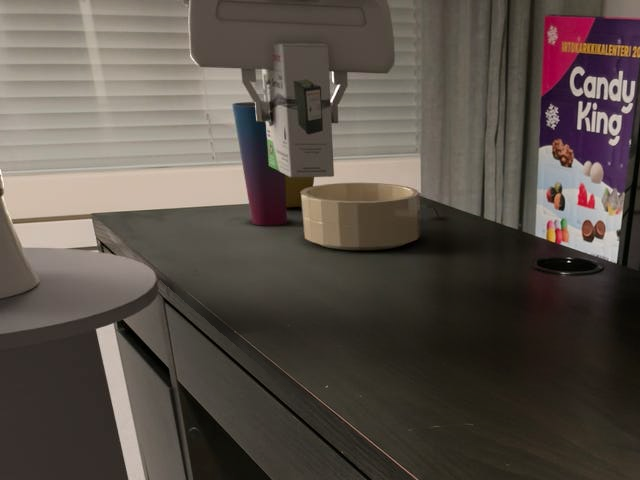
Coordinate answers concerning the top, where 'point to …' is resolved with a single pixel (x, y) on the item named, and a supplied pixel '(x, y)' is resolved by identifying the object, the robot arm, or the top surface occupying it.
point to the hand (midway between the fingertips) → (298, 122)
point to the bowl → (360, 215)
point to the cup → (259, 169)
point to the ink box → (299, 110)
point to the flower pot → (296, 189)
